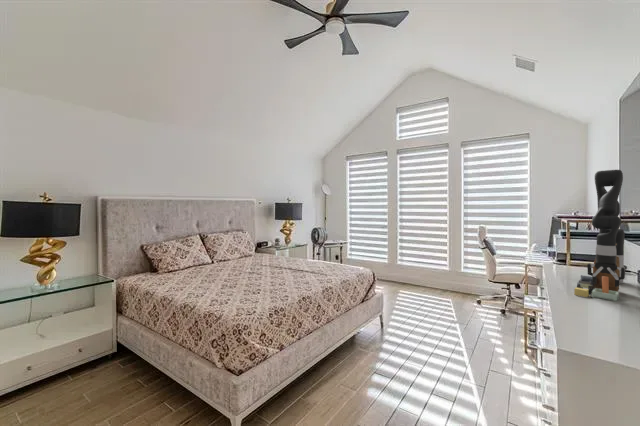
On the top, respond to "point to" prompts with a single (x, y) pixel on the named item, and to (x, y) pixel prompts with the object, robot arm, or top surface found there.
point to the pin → (605, 284)
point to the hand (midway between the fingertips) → (605, 285)
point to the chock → (581, 292)
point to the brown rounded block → (611, 278)
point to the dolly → (586, 283)
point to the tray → (605, 294)
